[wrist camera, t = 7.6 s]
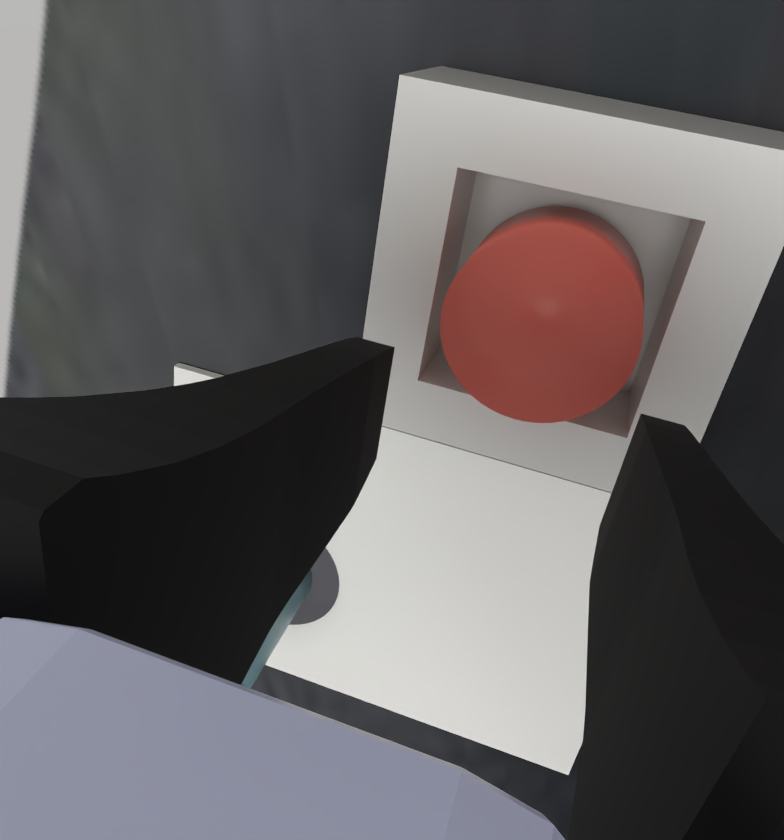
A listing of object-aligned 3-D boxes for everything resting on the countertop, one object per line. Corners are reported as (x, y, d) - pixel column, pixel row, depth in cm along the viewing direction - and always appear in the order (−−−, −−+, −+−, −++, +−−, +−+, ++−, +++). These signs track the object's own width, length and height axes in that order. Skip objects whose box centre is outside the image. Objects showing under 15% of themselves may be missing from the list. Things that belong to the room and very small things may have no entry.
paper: (681, 508, 21) (681, 515, 21) (568, 768, 27) (567, 776, 27) (179, 362, 24) (172, 366, 24) (178, 626, 30) (173, 632, 30)
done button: (670, 228, 16) (672, 261, 14) (613, 394, 18) (608, 444, 16) (485, 187, 16) (460, 212, 14) (451, 351, 18) (425, 394, 16)
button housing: (790, 133, 16) (820, 157, 13) (669, 439, 20) (671, 509, 17) (441, 65, 18) (399, 75, 15) (392, 363, 22) (352, 416, 19)
